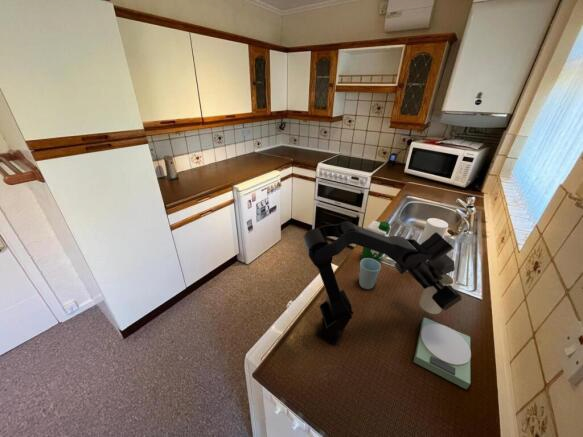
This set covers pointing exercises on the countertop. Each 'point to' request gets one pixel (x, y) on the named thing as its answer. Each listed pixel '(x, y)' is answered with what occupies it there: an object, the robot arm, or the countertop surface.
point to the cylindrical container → (434, 228)
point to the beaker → (426, 297)
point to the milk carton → (381, 229)
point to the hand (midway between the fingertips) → (440, 291)
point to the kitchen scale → (444, 352)
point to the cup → (368, 272)
